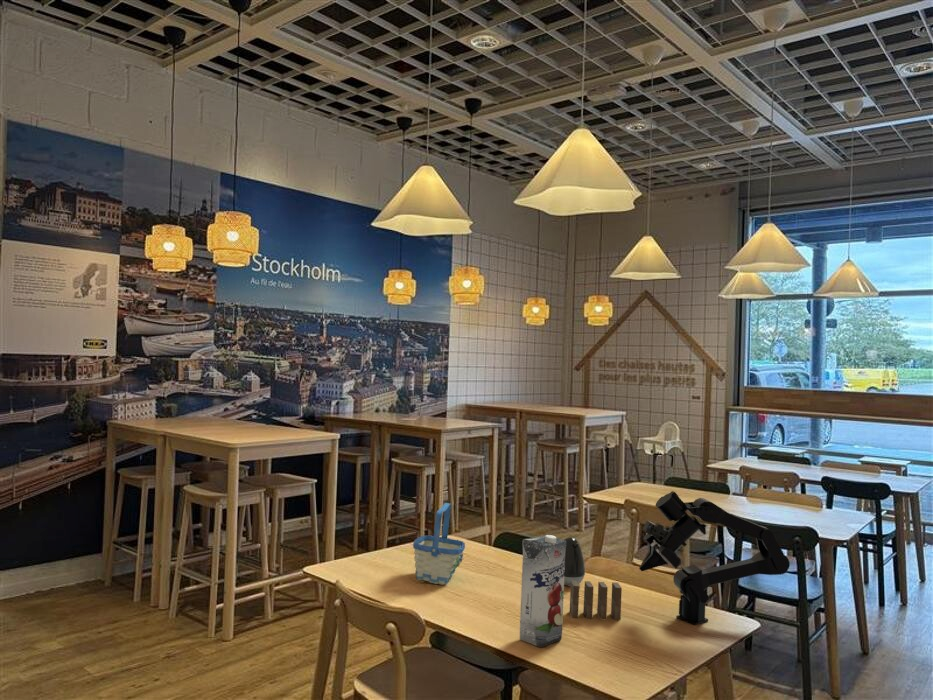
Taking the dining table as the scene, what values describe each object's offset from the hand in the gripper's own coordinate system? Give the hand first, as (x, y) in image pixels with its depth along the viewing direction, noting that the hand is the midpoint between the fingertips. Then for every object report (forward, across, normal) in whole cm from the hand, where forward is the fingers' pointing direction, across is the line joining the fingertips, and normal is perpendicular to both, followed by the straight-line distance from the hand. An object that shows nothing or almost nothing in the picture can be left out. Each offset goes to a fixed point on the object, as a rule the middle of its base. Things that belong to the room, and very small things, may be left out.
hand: (640, 569), depth 199 cm
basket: (+51, -30, -31) cm, 67 cm away
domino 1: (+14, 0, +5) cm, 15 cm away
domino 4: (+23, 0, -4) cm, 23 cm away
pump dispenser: (+20, -30, -1) cm, 36 cm away
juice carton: (+31, +20, -12) cm, 39 cm away
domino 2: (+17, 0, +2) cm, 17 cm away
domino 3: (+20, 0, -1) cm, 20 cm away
